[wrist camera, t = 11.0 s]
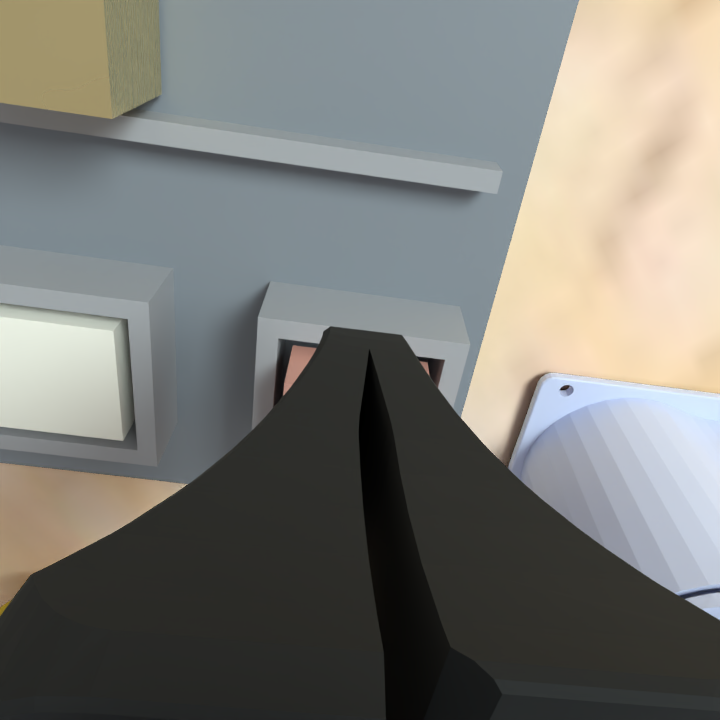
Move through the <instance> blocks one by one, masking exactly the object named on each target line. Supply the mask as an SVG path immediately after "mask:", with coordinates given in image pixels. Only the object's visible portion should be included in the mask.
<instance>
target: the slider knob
mask: <svg viewBox="0 0 720 720" xmlns="http://www.w3.org/2000/svg"><path fill="white" fill-rule="evenodd" d="M161 94H162V90H161V60H160V30H159V0H0V103H6V104H13V105H20V106H26V107H33V108H40V109H47V110H54V111H61V112H67V113H74V114H81V115H88V116H95V117H101V118H108V119H113V118H115V117H117V116H119V115H121V114H123V113H125V112H127V111H129V110H131V109H133V108H135V107H137V106H139V105H141V104H143V103H145V102H147V101H149V100H151V99H153V98H155V97H157V96H159V95H161Z"/></svg>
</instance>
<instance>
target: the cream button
mask: <svg viewBox="0 0 720 720" xmlns="http://www.w3.org/2000/svg"><path fill="white" fill-rule="evenodd" d="M134 420H135V409H134V396H133V383H132V369H131V356H130V342H129V329H128V319H123V318H115V317H107V316H100V315H92V314H84V313H76V312H68V311H61V310H53V309H45V308H37V307H29V306H22V305H14V304H6V303H0V427H8V428H17V429H25V430H34V431H42V432H51V433H59V434H68V435H76V436H85V437H94V438H102V439H111V440H119V441H123V440H124V439H125V437H126V435H127V433H128V431H129V430H130V428H131V426H132V424H133V422H134Z"/></svg>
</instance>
